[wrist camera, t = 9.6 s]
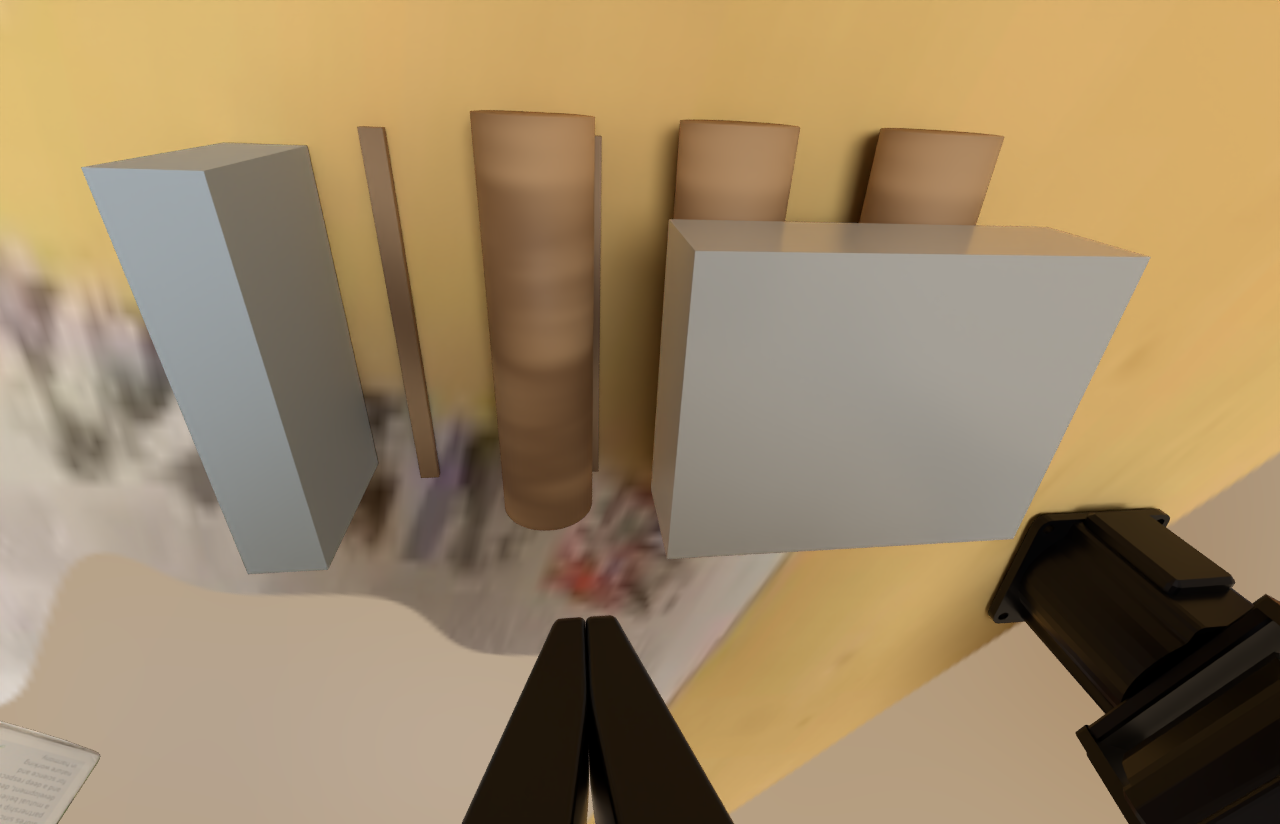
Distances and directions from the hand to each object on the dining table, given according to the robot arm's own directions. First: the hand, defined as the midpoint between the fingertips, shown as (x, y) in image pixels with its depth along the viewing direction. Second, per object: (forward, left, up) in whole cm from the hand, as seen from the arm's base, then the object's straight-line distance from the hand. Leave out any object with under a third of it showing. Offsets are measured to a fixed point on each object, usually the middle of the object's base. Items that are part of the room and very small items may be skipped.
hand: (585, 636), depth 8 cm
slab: (0, -7, -8) cm, 11 cm away
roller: (0, +2, -11) cm, 12 cm away
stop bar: (0, +8, -12) cm, 14 cm away
